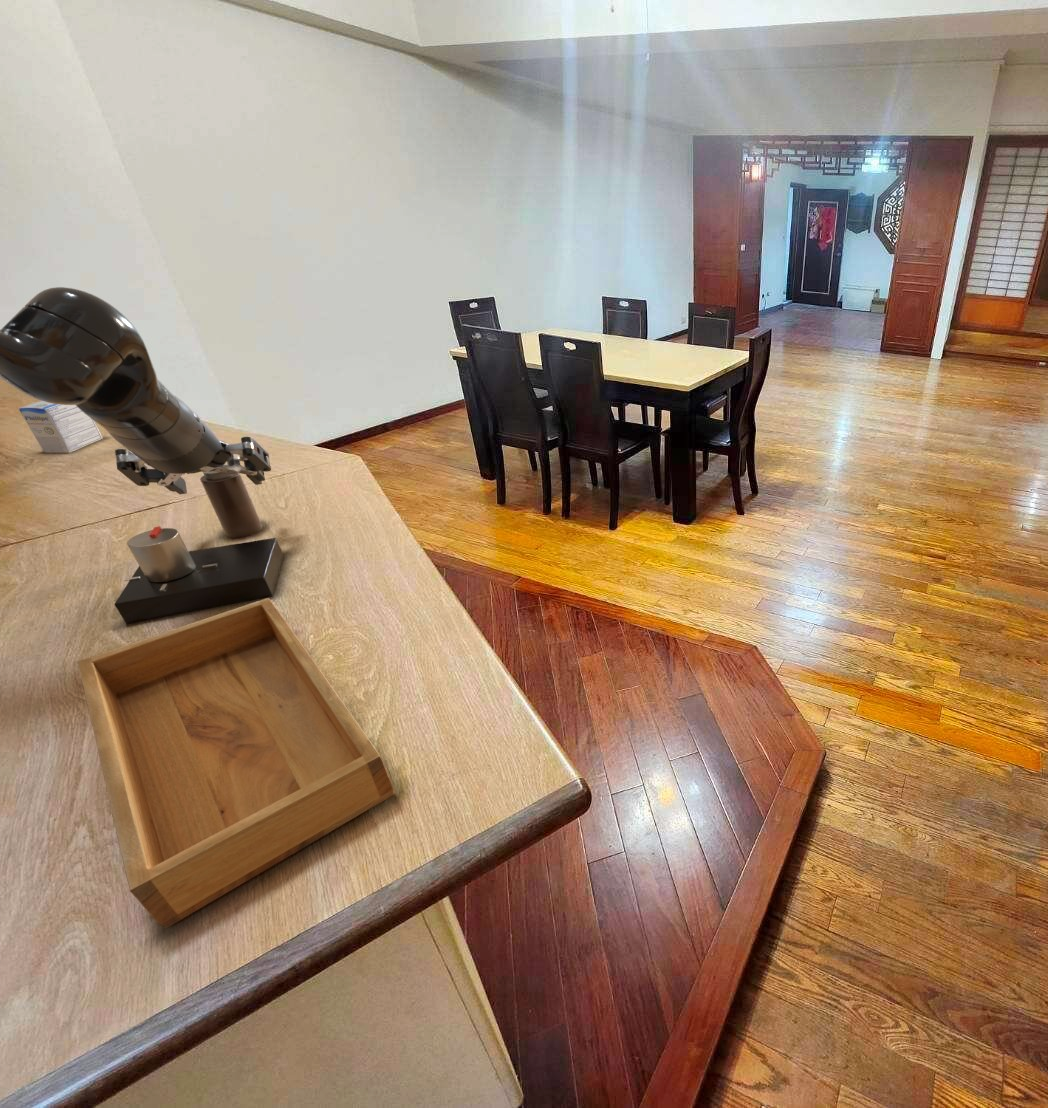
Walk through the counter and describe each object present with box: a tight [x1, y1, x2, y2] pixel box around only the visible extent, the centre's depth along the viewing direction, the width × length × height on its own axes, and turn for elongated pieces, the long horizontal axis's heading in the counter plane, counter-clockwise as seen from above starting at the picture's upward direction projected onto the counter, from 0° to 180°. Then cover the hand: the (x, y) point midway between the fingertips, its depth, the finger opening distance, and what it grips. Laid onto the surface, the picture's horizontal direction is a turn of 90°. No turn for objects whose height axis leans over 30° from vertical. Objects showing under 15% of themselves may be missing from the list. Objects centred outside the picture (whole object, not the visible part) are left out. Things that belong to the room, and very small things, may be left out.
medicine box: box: [18, 400, 104, 454], centre depth 111 cm, size 8×4×9 cm, turn 6°
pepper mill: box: [199, 464, 264, 539], centre depth 85 cm, size 4×4×10 cm
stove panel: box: [114, 537, 285, 625], centre depth 74 cm, size 14×11×3 cm
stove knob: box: [126, 525, 196, 582], centre depth 71 cm, size 5×5×5 cm
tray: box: [77, 597, 395, 929], centre depth 52 cm, size 31×15×6 cm, turn 48°
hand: (221, 483), depth 83 cm, fingers open, 8 cm apart
